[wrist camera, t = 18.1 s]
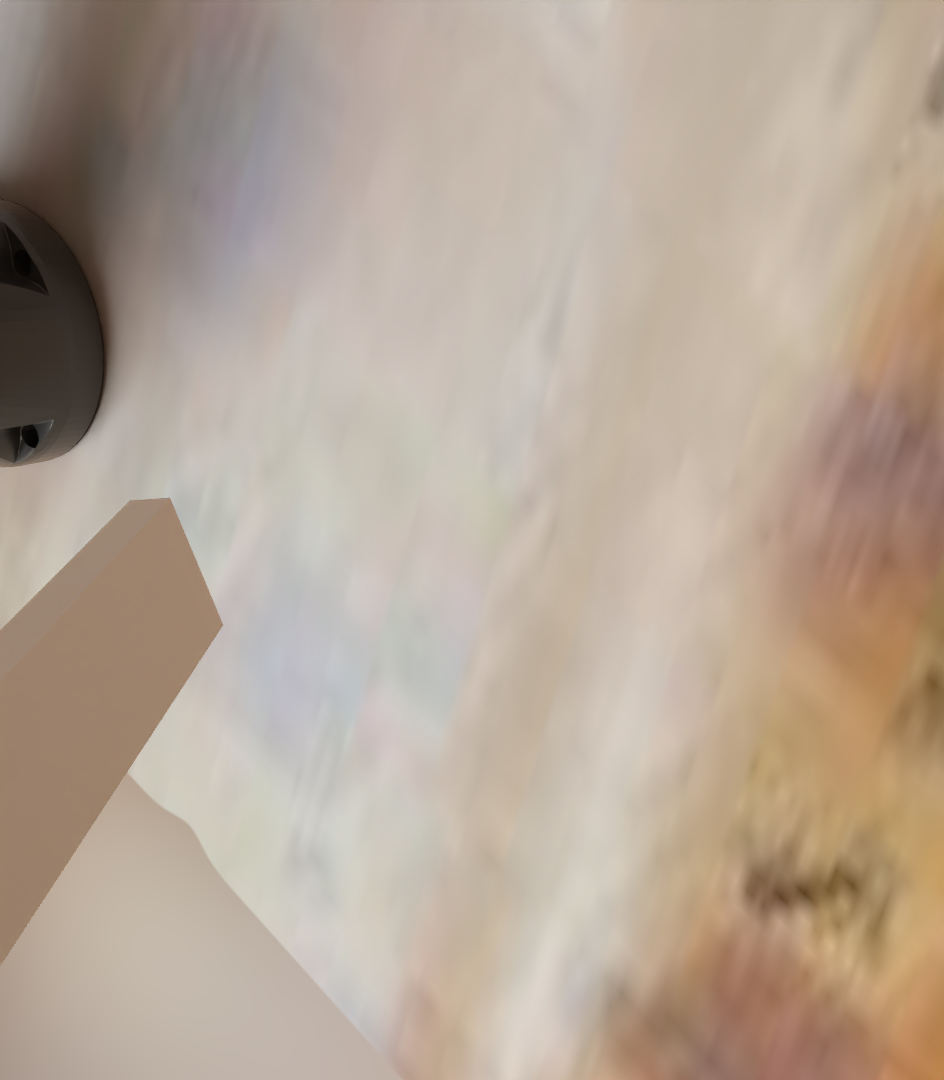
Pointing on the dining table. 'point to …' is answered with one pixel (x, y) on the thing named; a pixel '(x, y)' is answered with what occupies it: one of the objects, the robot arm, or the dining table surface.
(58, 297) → the robot arm
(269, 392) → the dining table surface
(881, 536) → the dining table surface
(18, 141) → the dining table surface
